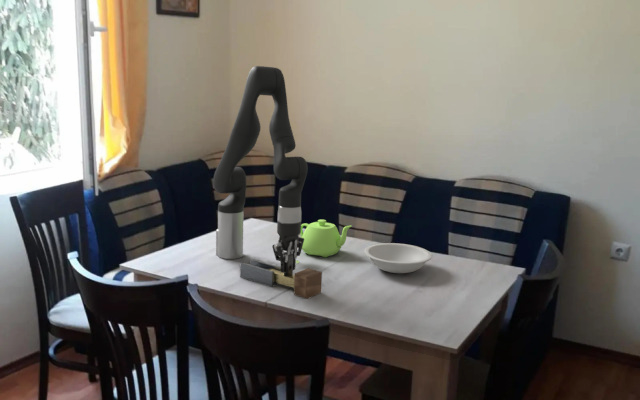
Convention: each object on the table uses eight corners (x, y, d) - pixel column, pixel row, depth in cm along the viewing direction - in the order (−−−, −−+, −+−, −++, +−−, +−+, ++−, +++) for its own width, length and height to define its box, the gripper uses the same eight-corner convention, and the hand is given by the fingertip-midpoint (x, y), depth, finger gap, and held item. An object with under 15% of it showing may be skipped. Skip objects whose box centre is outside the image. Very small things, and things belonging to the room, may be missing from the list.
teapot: (357, 253, 248) (358, 220, 245) (342, 263, 234) (344, 229, 231) (305, 244, 256) (306, 212, 253) (289, 254, 243) (290, 220, 240)
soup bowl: (368, 257, 243) (368, 240, 241) (431, 263, 238) (433, 246, 237) (358, 277, 220) (359, 259, 218) (429, 284, 215) (430, 266, 214)
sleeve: (240, 277, 215) (240, 263, 214) (252, 272, 220) (252, 259, 219) (272, 286, 207) (272, 272, 206) (283, 282, 212) (284, 267, 211)
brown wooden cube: (294, 294, 202) (294, 273, 200) (307, 288, 207) (308, 268, 206) (307, 298, 198) (308, 277, 197) (321, 292, 204) (321, 271, 202)
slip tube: (265, 279, 211) (266, 250, 208) (271, 277, 213) (272, 248, 211) (304, 291, 201) (305, 260, 199) (310, 288, 204) (311, 258, 202)
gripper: (293, 213, 210) (292, 263, 214) (265, 221, 199) (264, 273, 203) (312, 217, 206) (310, 268, 210) (284, 225, 195) (282, 279, 199)
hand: (287, 270), depth 206 cm, fingers closed on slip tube, 3 cm apart
